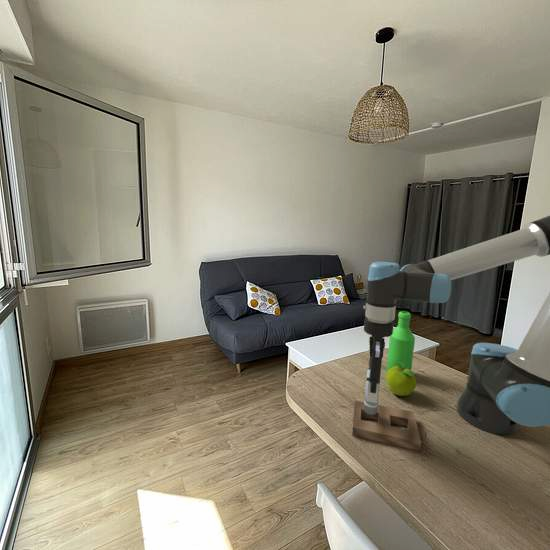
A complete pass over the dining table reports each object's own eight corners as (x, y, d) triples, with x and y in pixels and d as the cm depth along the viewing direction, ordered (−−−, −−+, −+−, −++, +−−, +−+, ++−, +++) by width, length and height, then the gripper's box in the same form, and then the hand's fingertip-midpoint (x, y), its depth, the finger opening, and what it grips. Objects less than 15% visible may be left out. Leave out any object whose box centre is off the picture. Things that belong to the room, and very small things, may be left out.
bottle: (381, 369, 116) (387, 309, 112) (399, 367, 119) (405, 308, 115) (396, 381, 108) (403, 317, 104) (415, 378, 111) (423, 315, 106)
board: (412, 419, 87) (413, 411, 87) (420, 451, 75) (421, 442, 75) (354, 407, 92) (354, 400, 92) (352, 435, 80) (352, 427, 80)
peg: (376, 408, 85) (380, 370, 83) (377, 416, 82) (381, 376, 80) (363, 405, 86) (366, 368, 84) (363, 413, 83) (366, 374, 81)
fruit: (406, 386, 105) (409, 360, 103) (418, 401, 96) (422, 373, 94) (381, 385, 105) (383, 359, 104) (390, 400, 96) (393, 373, 94)
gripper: (364, 309, 88) (358, 380, 92) (364, 327, 72) (357, 411, 77) (391, 312, 86) (384, 384, 90) (396, 331, 70) (387, 418, 74)
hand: (371, 397), depth 83 cm, fingers closed on peg, 3 cm apart
